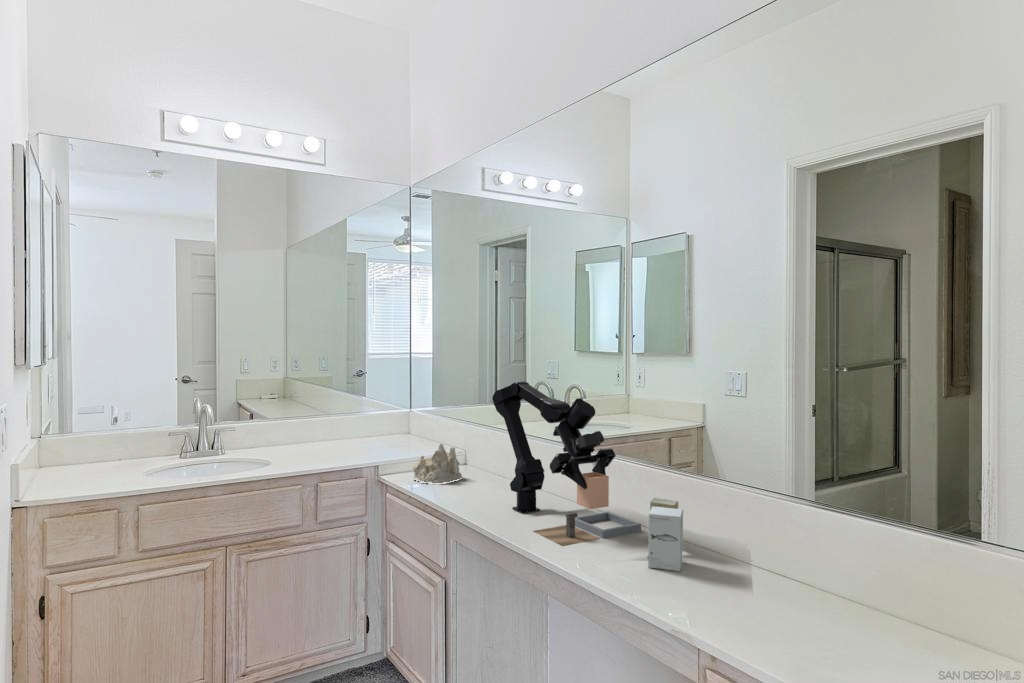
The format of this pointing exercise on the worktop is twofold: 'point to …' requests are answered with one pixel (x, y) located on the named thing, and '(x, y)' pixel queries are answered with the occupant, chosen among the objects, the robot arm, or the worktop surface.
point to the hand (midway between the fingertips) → (595, 487)
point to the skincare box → (663, 503)
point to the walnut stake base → (562, 535)
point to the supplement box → (665, 538)
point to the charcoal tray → (627, 528)
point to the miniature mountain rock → (438, 467)
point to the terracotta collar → (594, 491)
